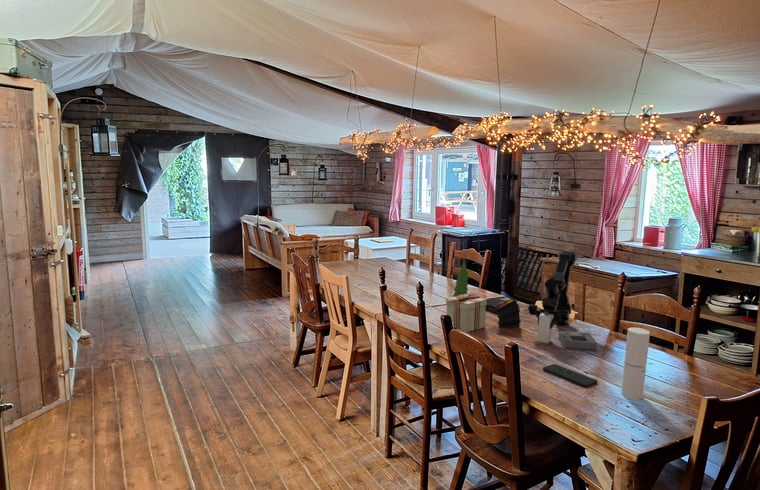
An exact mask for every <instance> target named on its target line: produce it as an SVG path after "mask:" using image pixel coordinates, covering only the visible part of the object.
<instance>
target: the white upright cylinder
mask: <svg viewBox="0 0 760 490" xmlns="http://www.w3.org/2000/svg"><path fill="white" fill-rule="evenodd" d="M552 319H553V315H552V314H548V311H544V313H541V314H540V315H539V327H537V328H538V329H537V342H538V343H543V344H544V343H545V344H549V343H550V342H551V341H552V330H553V327H552V328H551V329H550V324H551V322H552Z"/></svg>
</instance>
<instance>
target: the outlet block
mask: <svg viewBox="0 0 760 490" xmlns="http://www.w3.org/2000/svg"><path fill="white" fill-rule="evenodd" d="M558 340H559V342H560V344H561V345H562V347H563V348H564V349H563V350H570V351H571V350H572V351H588V352H597V349H598V342H597V341H596V339H595V338H594V337H593V336H592V335H591V334H590V332H580V331H564V330H559V331H558Z"/></svg>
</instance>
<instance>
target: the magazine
mask: <svg viewBox="0 0 760 490" xmlns="http://www.w3.org/2000/svg"><path fill="white" fill-rule="evenodd" d="M517 304H518V301H517V300H516V298H514V297H512V298H509V299H508V300H506V302H504V303H502V304H500V305H498V306H497V307H495V308H496V309H495V311H497V313H498V314H497V318H498V321H497V324H498V327H499V328H501V329H507V328H520V327H521V325H520V323H521V322H522V320H521V319H520V317H521V315H520V312H521V310H520V308H519V309H518V305H517Z"/></svg>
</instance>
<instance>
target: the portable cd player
mask: <svg viewBox="0 0 760 490" xmlns="http://www.w3.org/2000/svg"><path fill="white" fill-rule="evenodd" d="M486 300H487V305H486V312H491V313H493V314H496V315H498V313H497V311H495V309H496V308H495V307H497V306H498V305H500V304H502V303H504V302H506V301H507V300H506V299H502V298H499V297H494V298H489V299H486ZM517 305H518V309H519V310H520V306H519V304H518V303H517Z"/></svg>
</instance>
